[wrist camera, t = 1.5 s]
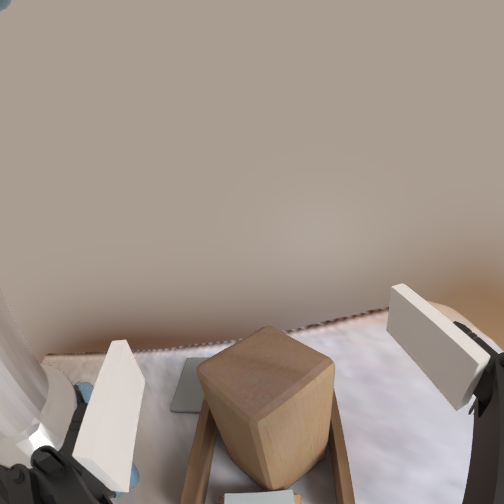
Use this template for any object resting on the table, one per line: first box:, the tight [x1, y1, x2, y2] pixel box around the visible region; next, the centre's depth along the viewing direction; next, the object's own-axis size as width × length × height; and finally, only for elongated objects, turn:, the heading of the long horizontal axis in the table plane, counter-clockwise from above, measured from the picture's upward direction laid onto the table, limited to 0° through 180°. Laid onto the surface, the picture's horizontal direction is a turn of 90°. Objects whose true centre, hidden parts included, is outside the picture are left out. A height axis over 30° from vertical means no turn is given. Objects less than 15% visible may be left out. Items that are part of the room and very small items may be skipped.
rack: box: [180, 388, 355, 504], centre depth 30 cm, size 19×20×6 cm
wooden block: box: [197, 326, 335, 492], centre depth 29 cm, size 10×10×20 cm
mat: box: [170, 358, 208, 413], centre depth 48 cm, size 14×14×1 cm
